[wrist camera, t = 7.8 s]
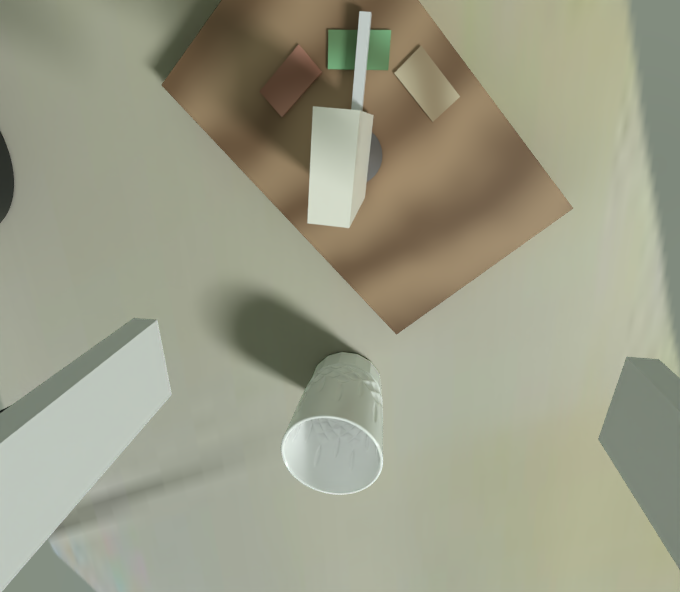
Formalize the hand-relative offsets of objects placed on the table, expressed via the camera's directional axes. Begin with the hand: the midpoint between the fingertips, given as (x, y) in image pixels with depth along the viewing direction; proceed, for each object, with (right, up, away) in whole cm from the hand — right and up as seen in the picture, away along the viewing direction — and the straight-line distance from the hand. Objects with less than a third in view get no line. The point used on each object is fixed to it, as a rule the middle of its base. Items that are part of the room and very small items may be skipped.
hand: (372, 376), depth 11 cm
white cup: (0, -6, +28) cm, 29 cm away
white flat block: (0, +15, +15) cm, 21 cm away
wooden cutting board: (+1, +14, +19) cm, 23 cm away
